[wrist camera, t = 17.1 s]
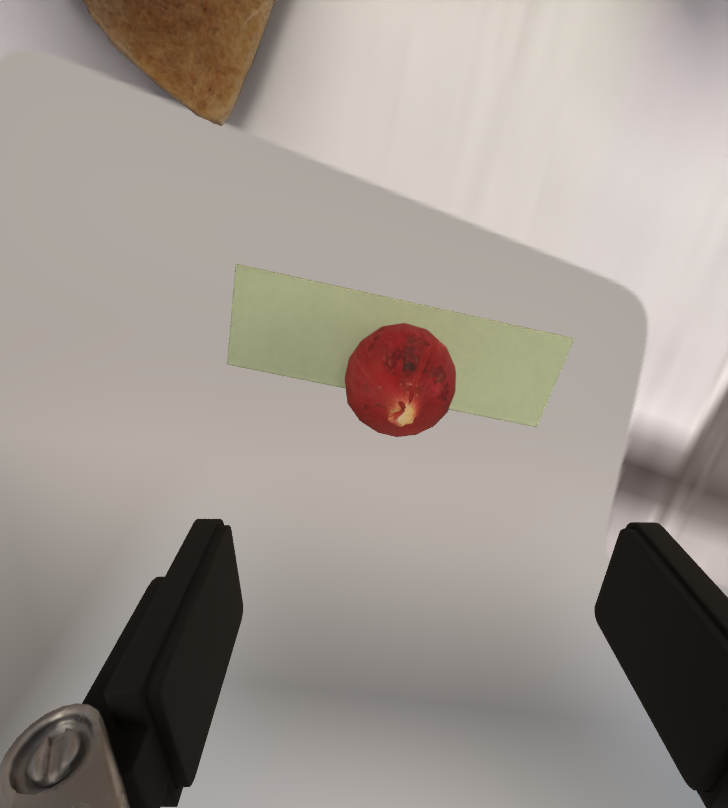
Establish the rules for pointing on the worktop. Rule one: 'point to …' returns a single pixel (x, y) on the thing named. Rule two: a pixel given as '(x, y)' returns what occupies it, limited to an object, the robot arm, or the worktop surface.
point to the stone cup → (188, 45)
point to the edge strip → (365, 313)
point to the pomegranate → (400, 380)
